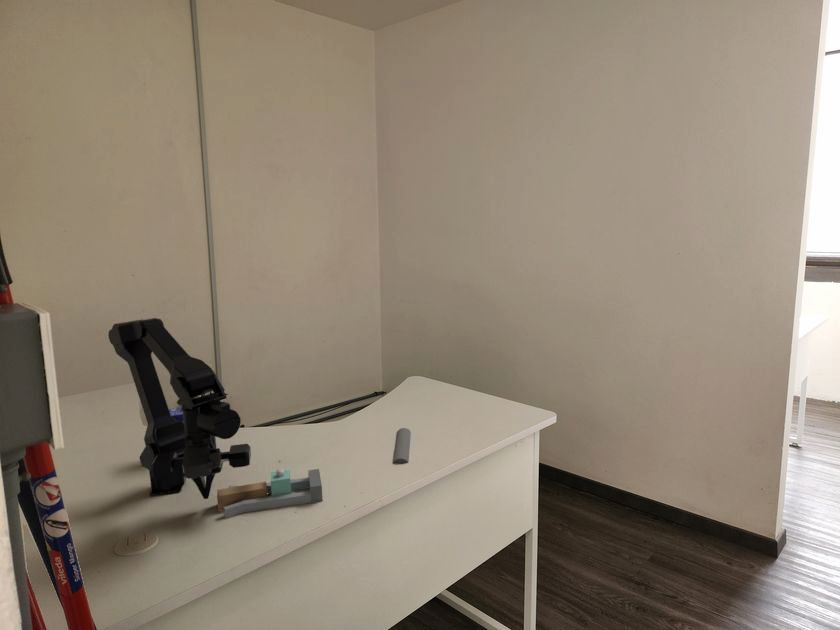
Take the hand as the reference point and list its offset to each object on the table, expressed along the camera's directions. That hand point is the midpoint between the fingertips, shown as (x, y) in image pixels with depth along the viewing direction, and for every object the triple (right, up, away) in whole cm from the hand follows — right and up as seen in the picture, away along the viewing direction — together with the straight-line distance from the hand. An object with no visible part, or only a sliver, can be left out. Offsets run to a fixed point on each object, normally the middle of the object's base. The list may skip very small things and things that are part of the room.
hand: (206, 498), depth 113 cm
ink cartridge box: (-14, +2, +27) cm, 31 cm away
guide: (+14, -1, +4) cm, 14 cm away
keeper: (+15, -1, +4) cm, 15 cm away
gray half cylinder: (+40, +3, +29) cm, 50 cm away
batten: (+7, -2, +2) cm, 8 cm away
